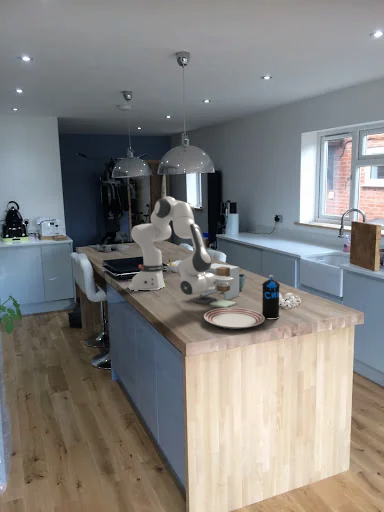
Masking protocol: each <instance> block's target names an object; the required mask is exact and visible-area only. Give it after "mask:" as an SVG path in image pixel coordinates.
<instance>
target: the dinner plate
mask: <svg viewBox="0 0 384 512" xmlns="http://www.w3.org/2000/svg"><path fill="white" fill-rule="evenodd" d="M203 317H204V318H203V319H204V320H205V321H206V322H208V323H210V324H212V325H214V326H216V327H219V328H222V327H223V328H222V329H226V328H230V329H229V330H241V328H244V329H249V328H252V327H255V326H259V325H261V324H262V323H263V322H264V321H265V320H266V319H265V318H264V316H263V315H262V313H260V312H258V311H255V310H253V309H249V308H242V307H240V308H239V307H227V308H221V307H218V308H214V309H211V310H209V311H207V312H205V313H204V314H203Z"/></svg>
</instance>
